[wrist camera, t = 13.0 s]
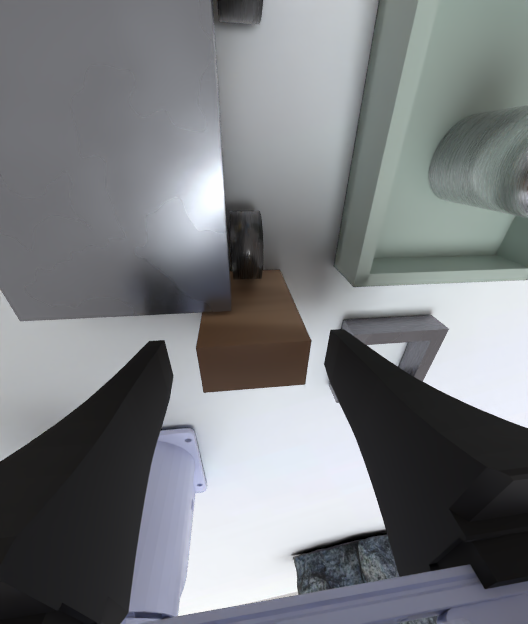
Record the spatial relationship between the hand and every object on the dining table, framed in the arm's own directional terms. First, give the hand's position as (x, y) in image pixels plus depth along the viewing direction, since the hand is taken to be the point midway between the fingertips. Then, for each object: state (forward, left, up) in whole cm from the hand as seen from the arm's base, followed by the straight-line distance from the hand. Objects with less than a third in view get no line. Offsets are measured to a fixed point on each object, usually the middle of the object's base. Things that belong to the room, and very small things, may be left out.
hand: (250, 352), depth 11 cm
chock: (0, 0, -4) cm, 4 cm away
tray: (+8, -9, -4) cm, 13 cm away
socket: (-4, -9, -4) cm, 10 cm away
